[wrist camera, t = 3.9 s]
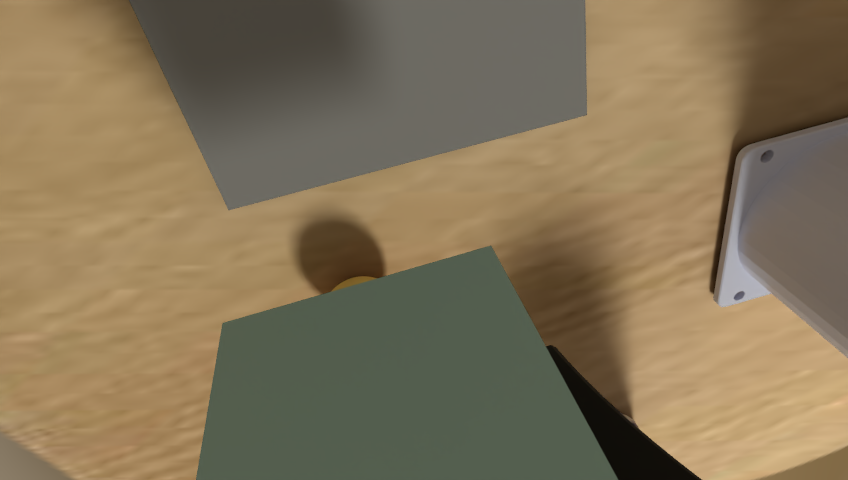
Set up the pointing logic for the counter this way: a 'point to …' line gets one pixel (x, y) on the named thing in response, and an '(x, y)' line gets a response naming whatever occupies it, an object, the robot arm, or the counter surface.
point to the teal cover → (397, 386)
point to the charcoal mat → (360, 81)
